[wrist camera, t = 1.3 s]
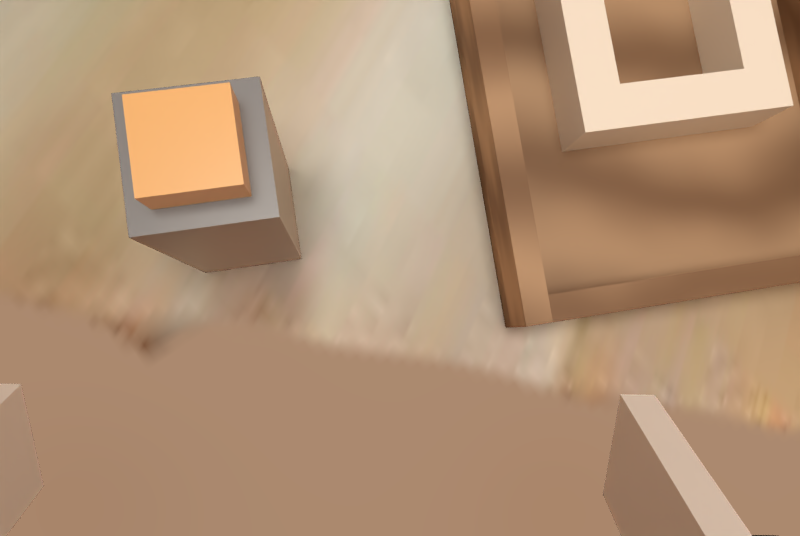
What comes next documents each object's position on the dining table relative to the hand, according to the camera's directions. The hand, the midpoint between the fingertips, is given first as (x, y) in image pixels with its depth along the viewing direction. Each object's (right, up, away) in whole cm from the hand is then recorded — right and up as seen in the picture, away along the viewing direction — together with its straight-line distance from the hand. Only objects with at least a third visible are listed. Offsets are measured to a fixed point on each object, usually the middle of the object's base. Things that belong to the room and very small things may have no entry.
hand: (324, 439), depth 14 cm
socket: (+14, +15, +19) cm, 28 cm away
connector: (-6, +6, +16) cm, 18 cm away
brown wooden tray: (+14, +15, +19) cm, 28 cm away
